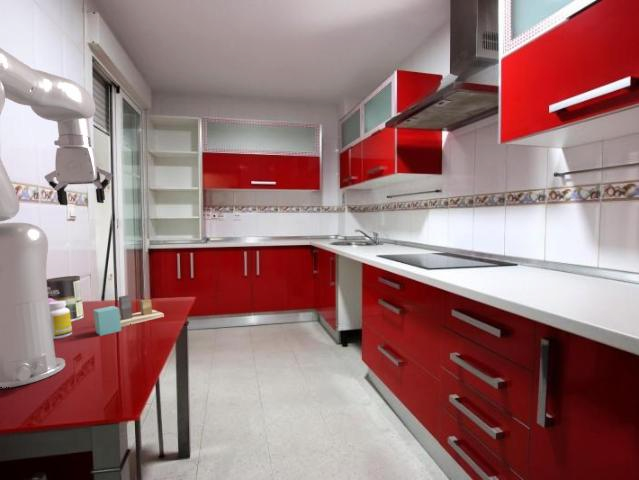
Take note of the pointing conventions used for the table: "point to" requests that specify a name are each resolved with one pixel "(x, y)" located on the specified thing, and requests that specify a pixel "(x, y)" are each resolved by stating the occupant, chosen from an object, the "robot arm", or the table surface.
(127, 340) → the table surface
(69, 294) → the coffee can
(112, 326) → the pale teal cube
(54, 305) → the supplement bottle
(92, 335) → the table surface
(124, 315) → the post stand
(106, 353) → the table surface
